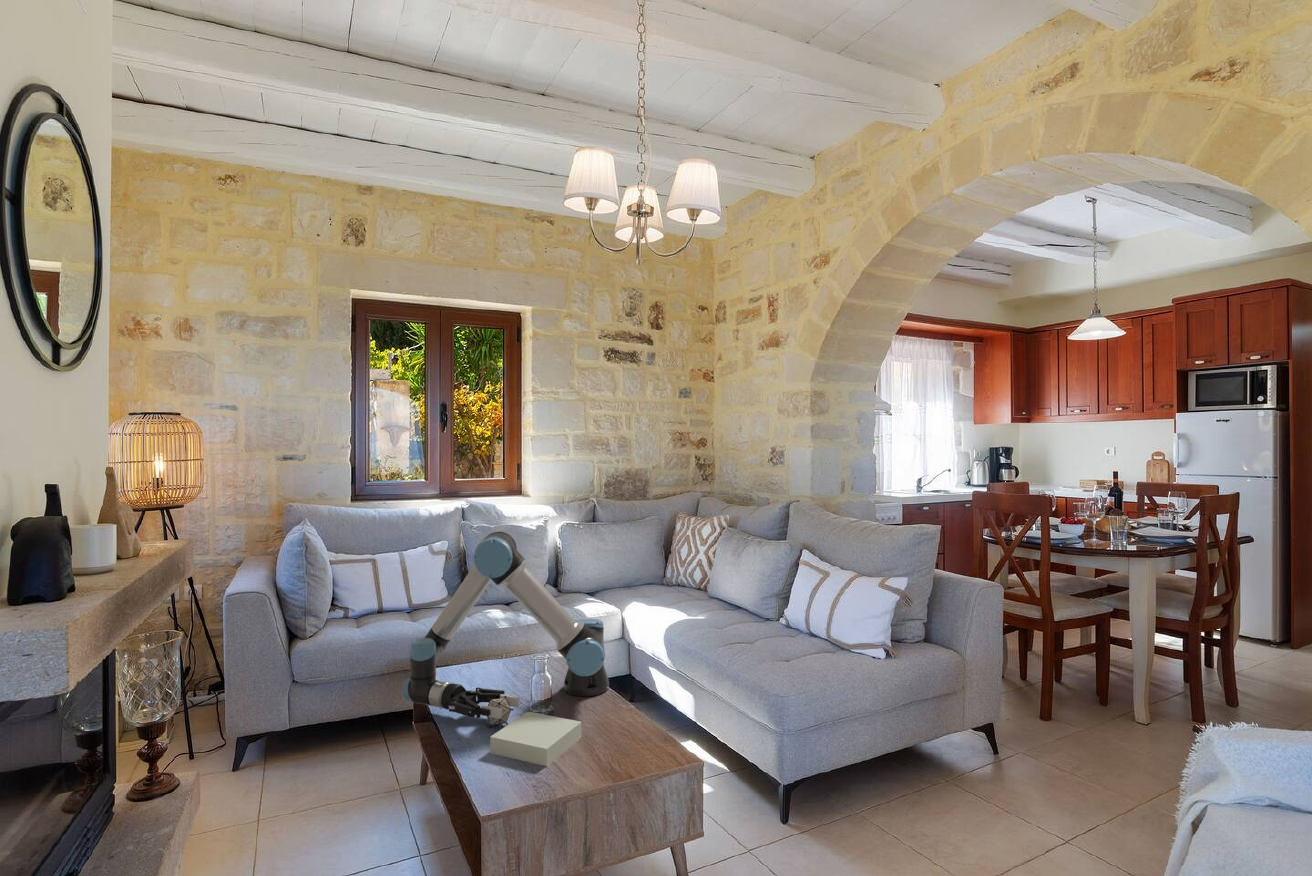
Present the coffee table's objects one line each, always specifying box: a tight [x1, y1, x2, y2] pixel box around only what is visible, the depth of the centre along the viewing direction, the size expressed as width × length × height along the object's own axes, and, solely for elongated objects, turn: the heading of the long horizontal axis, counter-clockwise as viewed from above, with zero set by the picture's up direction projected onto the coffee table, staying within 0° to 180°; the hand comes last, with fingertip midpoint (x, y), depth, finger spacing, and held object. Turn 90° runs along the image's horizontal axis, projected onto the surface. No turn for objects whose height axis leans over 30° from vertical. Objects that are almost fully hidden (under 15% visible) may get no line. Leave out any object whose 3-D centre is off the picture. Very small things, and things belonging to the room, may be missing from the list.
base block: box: [489, 711, 583, 767], centre depth 194 cm, size 18×18×5 cm
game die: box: [486, 696, 515, 729], centre depth 207 cm, size 9×8×10 cm
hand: (509, 708), depth 204 cm, fingers closed on game die, 8 cm apart
